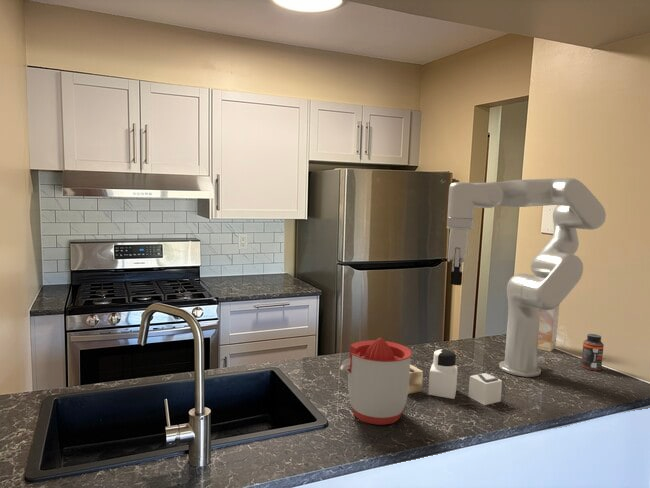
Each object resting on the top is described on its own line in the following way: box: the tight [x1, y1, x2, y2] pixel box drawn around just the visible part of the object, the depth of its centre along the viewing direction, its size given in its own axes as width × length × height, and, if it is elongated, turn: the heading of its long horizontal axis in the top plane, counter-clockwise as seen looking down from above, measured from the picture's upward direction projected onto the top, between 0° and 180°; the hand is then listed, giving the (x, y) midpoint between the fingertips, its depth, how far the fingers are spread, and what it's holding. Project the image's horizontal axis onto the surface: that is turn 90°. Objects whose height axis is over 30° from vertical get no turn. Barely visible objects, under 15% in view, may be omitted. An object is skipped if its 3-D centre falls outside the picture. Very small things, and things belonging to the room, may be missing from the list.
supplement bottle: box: [581, 333, 605, 372], centre depth 159 cm, size 6×6×11 cm
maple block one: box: [408, 364, 424, 395], centre depth 136 cm, size 6×6×6 cm
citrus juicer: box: [340, 337, 413, 426], centre depth 118 cm, size 16×17×20 cm
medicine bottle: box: [427, 348, 459, 400], centre depth 134 cm, size 7×7×12 cm
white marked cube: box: [468, 372, 503, 406], centre depth 131 cm, size 6×6×6 cm
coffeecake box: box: [537, 304, 560, 353], centre depth 181 cm, size 15×7×20 cm, turn 50°
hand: (456, 284), depth 144 cm, fingers closed
